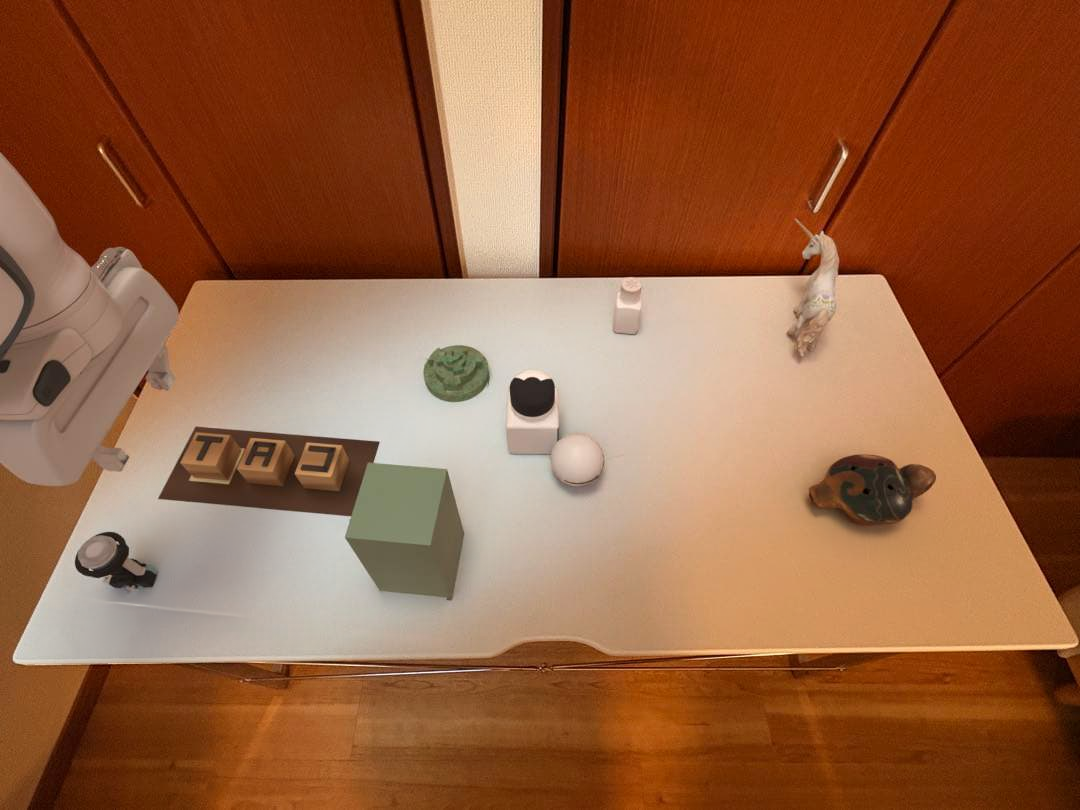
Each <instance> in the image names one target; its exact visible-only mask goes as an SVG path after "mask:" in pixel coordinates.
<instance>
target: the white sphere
mask: <svg viewBox="0 0 1080 810" xmlns="http://www.w3.org/2000/svg"><path fill="white" fill-rule="evenodd" d="M622 456H623V454H621V455H620V457H622ZM617 457H619V455H617V456H613V457H612V459H614V458H617ZM610 459H611V458H608V460H610ZM549 460H550V466H551V470H552V472H553V474H554V475H555V477H556V478H557V479H558V480H559V481H561V483H563V484H566V485H568V486H570V487H584V486H587V485H589V484H591V483H593V482H594V481H596V480H597V479H598V478H599V476H600V474H601V472H602V471H603V468H604V466H605V455H604V452H603V448H602V446H601V445H600V444H599V442H598V441H597V440H595V438H593V437H592V436H591V435H588V434H586V433H583V432H572V433H569V434H566V435H564V436H562V437H561V438H560V439H558V442H556V444H555V446H554V447H553V450H552V453H551V454H550V459H549Z"/></svg>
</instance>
